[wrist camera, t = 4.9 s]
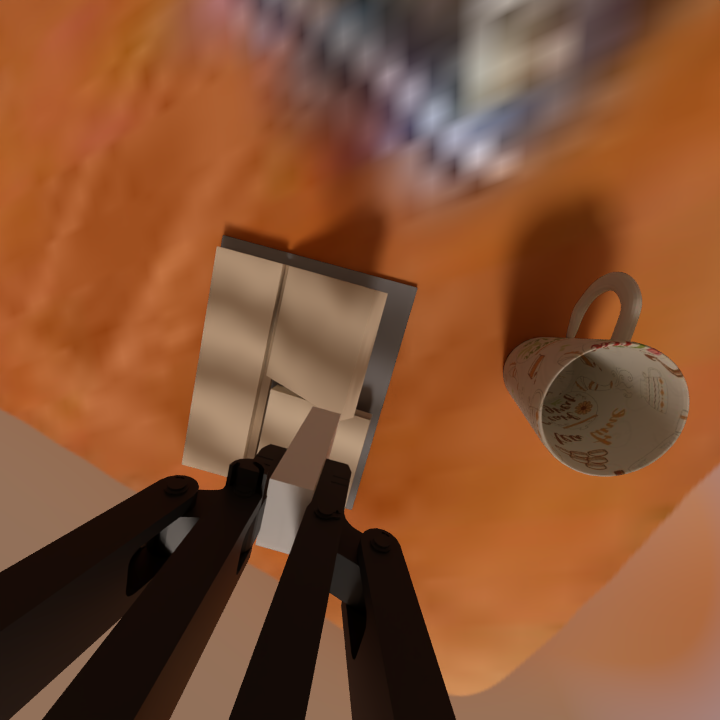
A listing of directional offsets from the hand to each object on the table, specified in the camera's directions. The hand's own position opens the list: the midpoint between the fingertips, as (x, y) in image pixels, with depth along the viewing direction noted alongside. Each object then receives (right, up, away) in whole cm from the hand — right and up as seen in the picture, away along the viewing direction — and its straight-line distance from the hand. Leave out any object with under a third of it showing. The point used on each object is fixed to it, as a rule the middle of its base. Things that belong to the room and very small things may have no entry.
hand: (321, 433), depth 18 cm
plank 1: (-1, +5, +9) cm, 11 cm away
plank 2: (-2, -4, +14) cm, 15 cm away
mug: (+18, +5, +12) cm, 22 cm away
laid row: (-4, +2, +14) cm, 14 cm away
